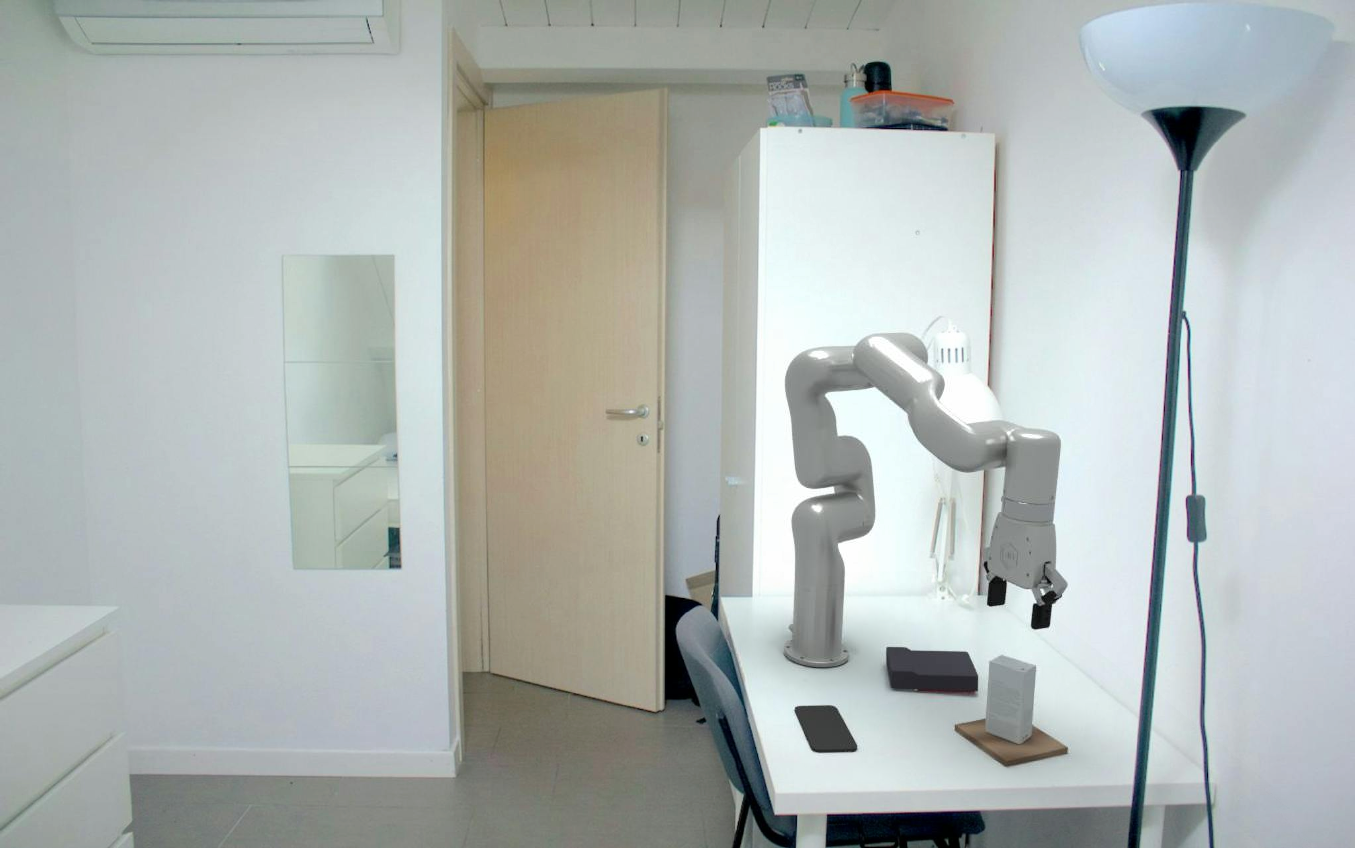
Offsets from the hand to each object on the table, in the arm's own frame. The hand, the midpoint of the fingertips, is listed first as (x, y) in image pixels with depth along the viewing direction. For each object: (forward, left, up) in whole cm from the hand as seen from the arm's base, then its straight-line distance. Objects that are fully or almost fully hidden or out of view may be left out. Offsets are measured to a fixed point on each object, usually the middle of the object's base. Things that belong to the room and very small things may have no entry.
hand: (1017, 616), depth 141 cm
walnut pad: (0, 0, -21) cm, 21 cm away
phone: (-13, -26, -21) cm, 36 cm away
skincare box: (0, 0, -20) cm, 20 cm away
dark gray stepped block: (-23, +2, -17) cm, 28 cm away
